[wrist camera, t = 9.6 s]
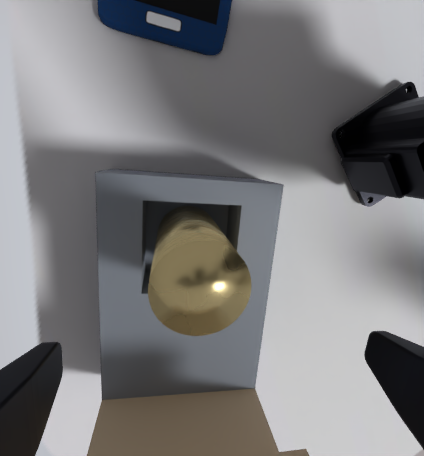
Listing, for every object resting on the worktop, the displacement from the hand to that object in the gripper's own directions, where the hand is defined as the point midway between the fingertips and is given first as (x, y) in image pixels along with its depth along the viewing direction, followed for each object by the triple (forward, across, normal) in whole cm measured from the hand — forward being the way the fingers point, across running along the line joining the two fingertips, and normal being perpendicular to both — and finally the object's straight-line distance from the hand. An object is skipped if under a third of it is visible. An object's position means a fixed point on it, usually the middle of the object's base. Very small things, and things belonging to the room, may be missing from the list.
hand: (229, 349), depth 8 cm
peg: (+11, 0, 0) cm, 11 cm away
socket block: (+12, 0, +4) cm, 12 cm away
